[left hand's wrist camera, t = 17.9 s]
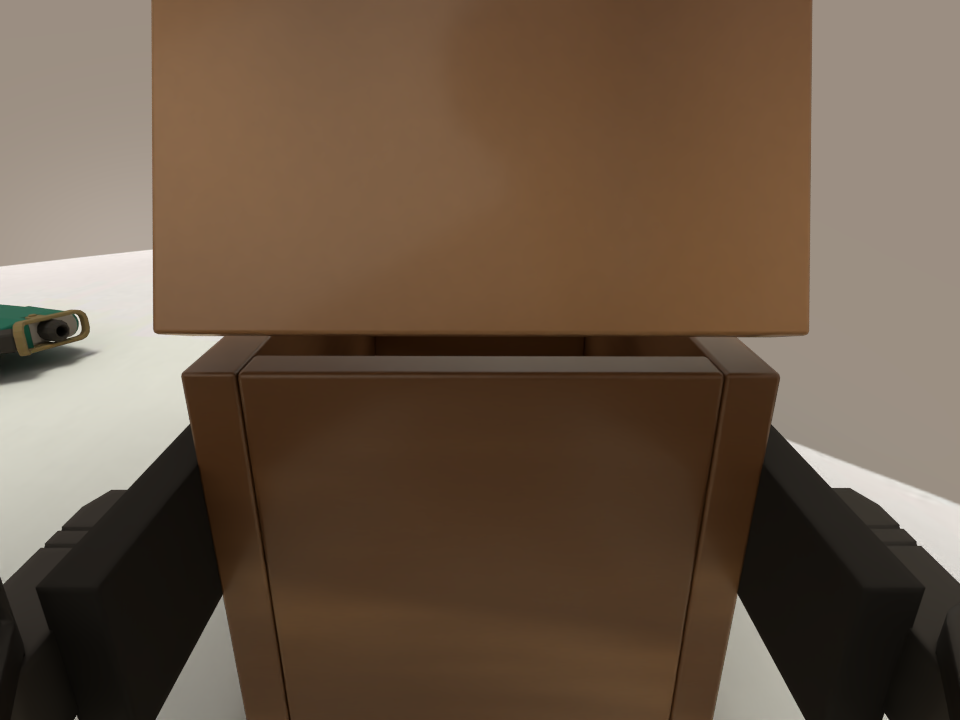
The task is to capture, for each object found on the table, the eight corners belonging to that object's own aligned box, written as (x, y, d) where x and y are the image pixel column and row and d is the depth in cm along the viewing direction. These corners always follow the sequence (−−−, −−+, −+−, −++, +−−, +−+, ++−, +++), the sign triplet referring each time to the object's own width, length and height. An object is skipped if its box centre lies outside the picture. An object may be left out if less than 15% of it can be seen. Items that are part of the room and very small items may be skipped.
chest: (365, 476, 25) (346, 228, 22) (592, 476, 25) (613, 229, 22) (261, 806, 13) (179, 372, 10) (697, 807, 13) (782, 374, 10)
